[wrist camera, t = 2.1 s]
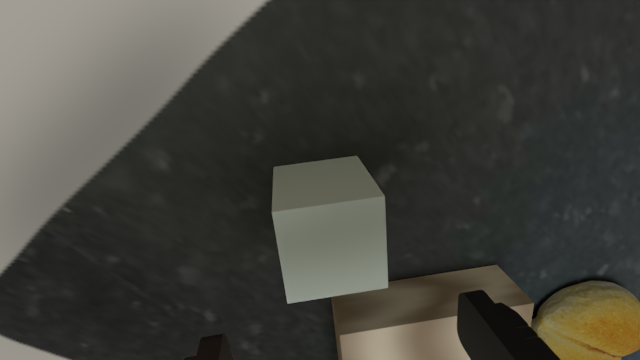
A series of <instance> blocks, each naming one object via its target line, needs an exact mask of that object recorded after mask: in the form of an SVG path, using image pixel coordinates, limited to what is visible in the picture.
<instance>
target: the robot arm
mask: <svg viewBox="0 0 640 360" xmlns="http://www.w3.org/2000/svg"><path fill="white" fill-rule="evenodd" d="M457 333H458V337H459V340H460V342H461V344H462V346H463V348H464V350H465V351H466V353H467V354H468V356H469V357H470V359H471V360H561V359H560V358H559V357H558V356H557V355H556V354H555V353H554V352H553V351H552V350H551V349H550V347H549V346H548V345H547V344H546V343H545V342H544V341H543V340H542V339H541V338H540V337H538V334H537V333H536V332H535V331H534V330H533V329H532V328H531V327H529V325H528V323H527V322H526V321H525V320H524V319H523V318H522V317H521V316H520V315H519V314H518V312H516V311H515V310H513V309H512V308H510V307H508V306H507V305H505V304H503V303H502V302H500V303H494V302H493V300H492V299H491V298H490V297H489V296H488V295H487V293H486V292H485V291H483V290H475V291H470V292H464V293H460V294H459V296H458V311H457ZM184 360H233V358H232V354H231V351H230V347H229V343H228V339H227V336H226V334H219V335H213V336H208V337H202V338H201V340H200V343H199V347H198V351H197V356H193V357H188V358H185V359H184Z"/></svg>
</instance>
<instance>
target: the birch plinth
mask: <svg viewBox="0 0 640 360" xmlns="http://www.w3.org/2000/svg"><path fill="white" fill-rule="evenodd" d="M475 290H483V291H485V292H486V293H487V295H488V296H489V297H490V298H491V299H492V300H493V302H494V303H500V302H502V303H503V304H505V305H507V306H508V307H510V308H512V309H513V310H515V311H516V312H518V314H519V315H520V316H521V317H522V318H523V319H524V320H525V321H526V322H527V323H528V325H529V327H531V321H532V315H533V308H534V302H533V301H532V300H531V299H530V298H529V297H528V296H527V295H526V294H525V293H524V292H523V291H522V290H521V289H520V288H519V287H518V286H517V285H516V284H515V283H514V282H513V281H512V280H511V279H510V278H509V277H508V276H507V275H506V274H505V273H504V272H503V271H502V270H501V269H500V268H499V267H498V265H491V266H485V267H479V268H472V269H466V270H460V271H453V272H447V273H440V274H434V275H428V276H421V277H415V278H409V279H402V280H396V281H390V282H388V288H384V289H378V290H371V291H365V292H359V293H352V294H346V295H340V296H333V297H331V300H332V308H333V317H334V326H335V335H336V343H337V352H338V360H471V359H470V357H469V356H468V354H467V353H466V351H465V350H464V348H463V346H462V344H461V342H460V340H459V337H458V333H457V311H458V296H459V294H460V293H464V292H470V291H475Z"/></svg>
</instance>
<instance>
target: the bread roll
mask: <svg viewBox="0 0 640 360" xmlns="http://www.w3.org/2000/svg"><path fill="white" fill-rule="evenodd" d="M531 328H532V329H533V330H534V331H535V332H536V333H537V334H538V337H540V338H541V339H542V340H543V341H544V342H545V343H546V344H547V345H548V346H549V347H550V349H551V350H552V351H553V352H554V353H555V354H556V355H557V356H558V357H559V358H560V359H561V360H621V356H626V355H629V354H631V353H633V352H635V351H637V350H639V349H640V302H639V301H638V300H637V298H636V297H635V296H634V295H633V294H632V293H631V292H629V291H628V290H626V289H625V288H623V287H621V286H619V285H617V284H615V283H611V282H605V281H588V282H583V283H580V284H576V285H572V286H569V287H566V288H563V289H561V290H559V291H558V292H556V293H554V294H553V295H552V296H550V297H549V298H548V299H547V300H546V301H545V302H544V303H543V304H542V305H541V306H540V308H539V310H538V312H537V317H536V318H534V319H532V321H531Z"/></svg>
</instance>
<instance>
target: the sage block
mask: <svg viewBox="0 0 640 360" xmlns="http://www.w3.org/2000/svg"><path fill="white" fill-rule="evenodd" d="M272 217H273V223H274V228H275V234H276V240H277V246H278V251H279V257H280V263H281V269H282V275H283V280H284V286H285V292H286V298H287V303H288V304H289V303H295V302H302V301H308V300H314V299H321V298H327V297H333V296H340V295H346V294H352V293H359V292H365V291H371V290H378V289H384V288H388V266H387V239H386V213H385V196H384V194H383V193H382V191H381V190H380V188H379V187H378V185H377V184H376V182H375V181H374V180H373V178H372V177H371V175H370V174H369V172H368V171H367V169H366V168H365V166H364V165H363V163H362V162H361V161H360V159H359V158H358V156H351V157H343V158H336V159H328V160H321V161H313V162H306V163H298V164H291V165H283V166H276V167H274V168H273V192H272Z"/></svg>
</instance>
